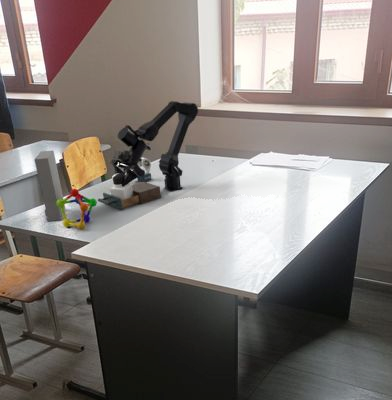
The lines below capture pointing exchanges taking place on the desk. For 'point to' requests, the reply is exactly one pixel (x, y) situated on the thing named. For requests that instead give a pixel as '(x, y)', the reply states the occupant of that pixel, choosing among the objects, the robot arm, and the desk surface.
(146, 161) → the snow globe
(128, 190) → the medicine bottle
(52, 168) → the tall grey pillar
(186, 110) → the robot arm
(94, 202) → the educational toy
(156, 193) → the cabinet
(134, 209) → the desk surface
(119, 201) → the drawer
